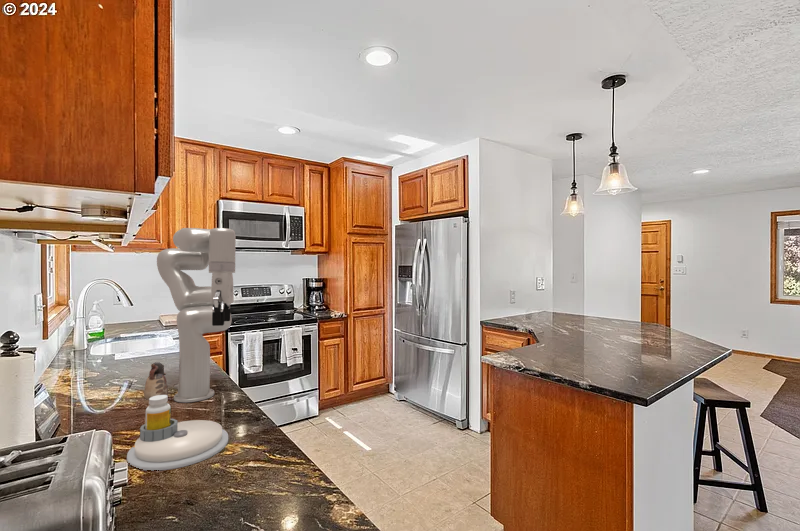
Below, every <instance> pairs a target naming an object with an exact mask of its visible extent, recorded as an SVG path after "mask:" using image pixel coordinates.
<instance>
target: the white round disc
mask: <svg viewBox="0 0 800 531" xmlns="http://www.w3.org/2000/svg"><path fill="white" fill-rule="evenodd" d="M222 429H223V427H222V425H221V424H220V423H219V422H216V421H213V420H205V419H195V420H183V421H179V420H177V419H175V418H170V426H169V427H166V428H163V429H158V430H146V429H145V423H144V424H142V425H141V426H140V428H139V438H137V439H136V440H135V443H134V445H135V456H136V457H137V458H139V459H141V460H144V461H149V462H166V461H174V460H179V459H184V458H188V457H191V456H194V455H197V454H200V453H203V452H205V451H207V450H209V449H211V448H212V447H214V446H215V445H217V444H218V443H219V442H220V440H221V439H222Z"/></svg>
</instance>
